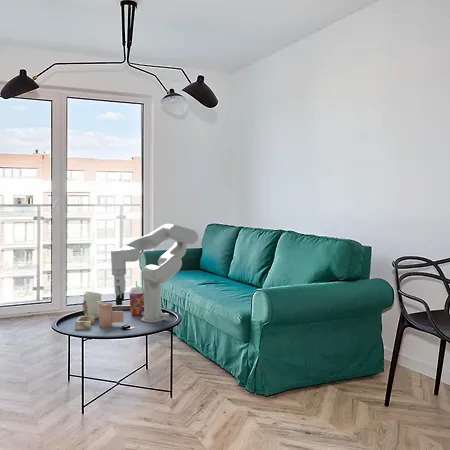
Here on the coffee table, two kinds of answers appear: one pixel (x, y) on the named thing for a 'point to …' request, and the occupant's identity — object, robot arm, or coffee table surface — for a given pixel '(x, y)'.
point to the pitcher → (91, 304)
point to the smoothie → (136, 300)
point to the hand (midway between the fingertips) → (120, 302)
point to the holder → (84, 322)
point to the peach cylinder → (109, 315)
